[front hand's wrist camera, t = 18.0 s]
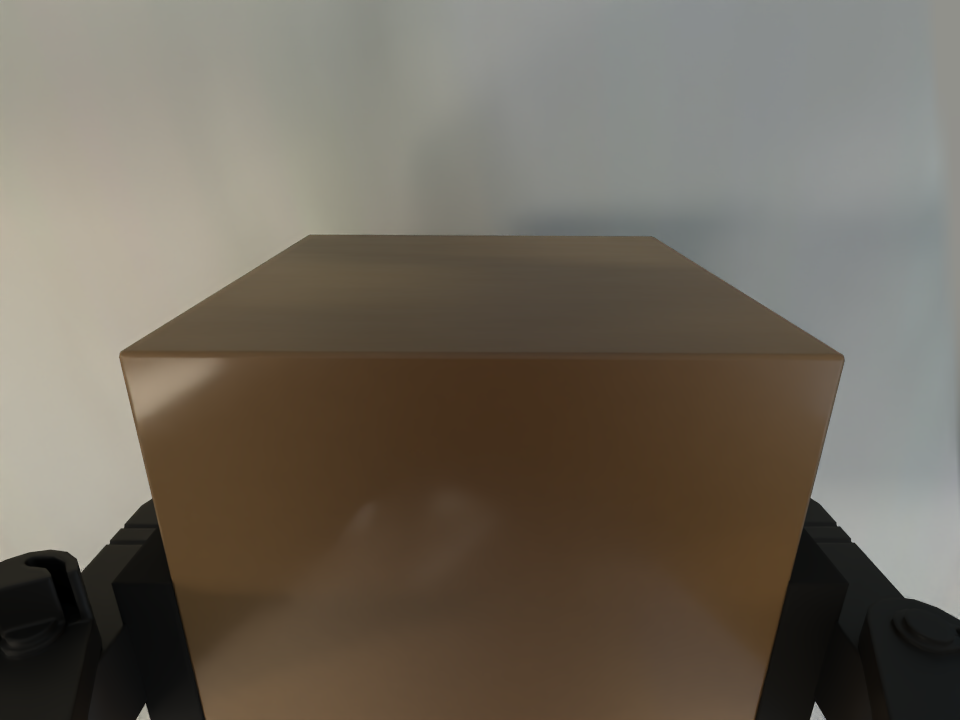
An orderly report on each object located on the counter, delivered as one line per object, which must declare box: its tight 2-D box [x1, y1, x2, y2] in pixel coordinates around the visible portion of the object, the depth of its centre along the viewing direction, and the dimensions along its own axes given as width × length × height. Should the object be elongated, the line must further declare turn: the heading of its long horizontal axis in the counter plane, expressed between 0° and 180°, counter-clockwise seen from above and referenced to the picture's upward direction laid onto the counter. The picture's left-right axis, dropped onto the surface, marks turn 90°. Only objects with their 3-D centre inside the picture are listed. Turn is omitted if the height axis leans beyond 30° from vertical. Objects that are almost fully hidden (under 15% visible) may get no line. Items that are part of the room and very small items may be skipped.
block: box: [119, 235, 845, 720], centre depth 12 cm, size 8×9×8 cm
